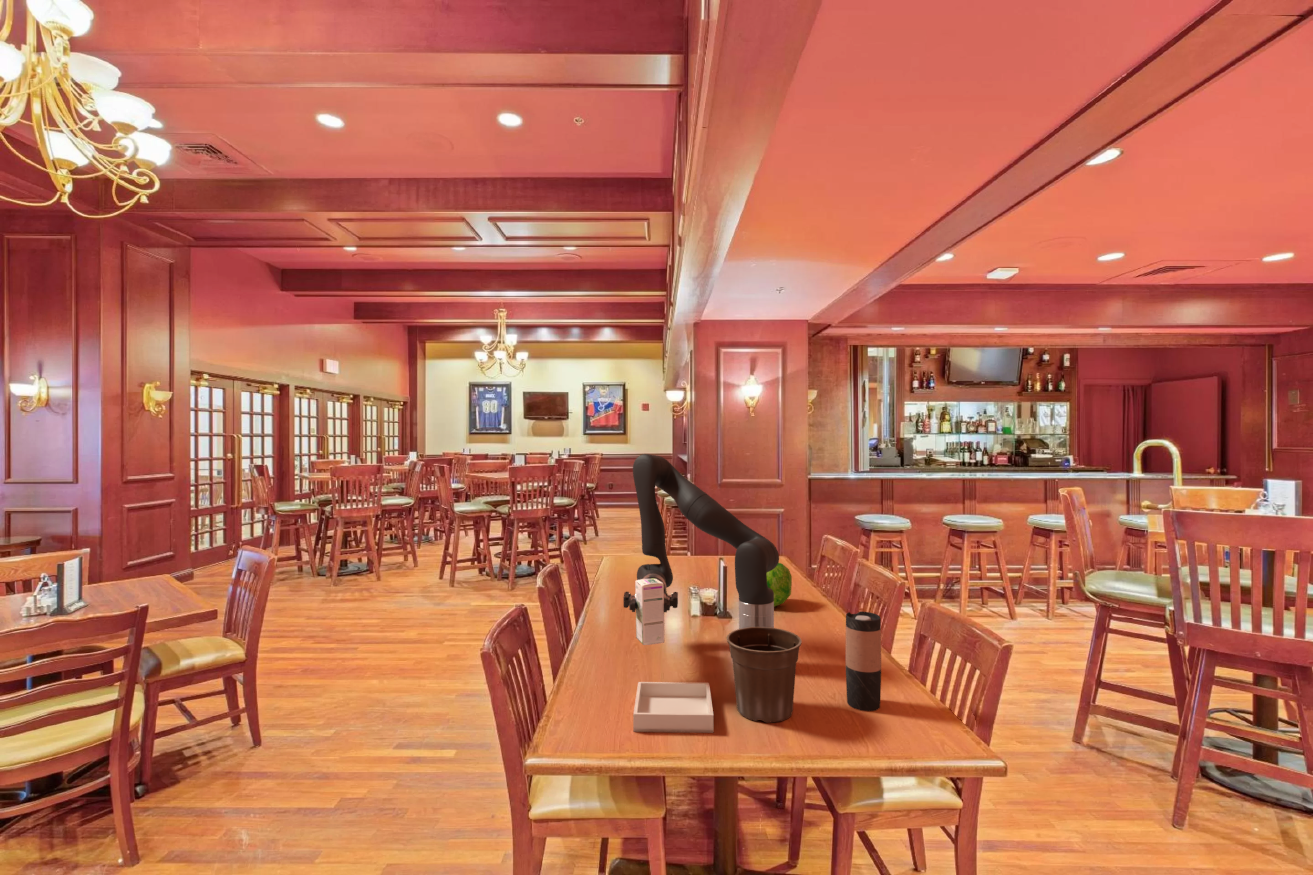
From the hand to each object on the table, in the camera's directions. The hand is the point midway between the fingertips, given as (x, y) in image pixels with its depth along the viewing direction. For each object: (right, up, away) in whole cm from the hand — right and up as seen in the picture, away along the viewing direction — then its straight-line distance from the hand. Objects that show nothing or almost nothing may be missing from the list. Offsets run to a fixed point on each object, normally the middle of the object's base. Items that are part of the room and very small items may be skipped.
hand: (649, 608), depth 143 cm
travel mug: (+49, -20, -8) cm, 53 cm away
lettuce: (+42, -20, +73) cm, 87 cm away
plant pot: (+25, -20, -11) cm, 34 cm away
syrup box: (0, -9, +2) cm, 9 cm away
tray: (+5, -20, -12) cm, 24 cm away
